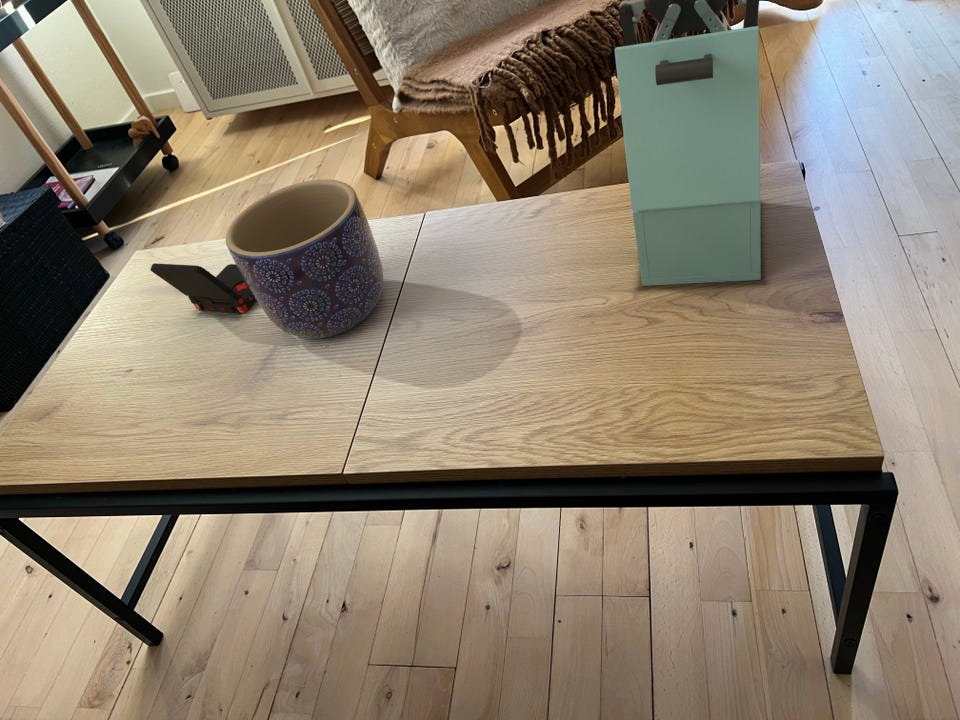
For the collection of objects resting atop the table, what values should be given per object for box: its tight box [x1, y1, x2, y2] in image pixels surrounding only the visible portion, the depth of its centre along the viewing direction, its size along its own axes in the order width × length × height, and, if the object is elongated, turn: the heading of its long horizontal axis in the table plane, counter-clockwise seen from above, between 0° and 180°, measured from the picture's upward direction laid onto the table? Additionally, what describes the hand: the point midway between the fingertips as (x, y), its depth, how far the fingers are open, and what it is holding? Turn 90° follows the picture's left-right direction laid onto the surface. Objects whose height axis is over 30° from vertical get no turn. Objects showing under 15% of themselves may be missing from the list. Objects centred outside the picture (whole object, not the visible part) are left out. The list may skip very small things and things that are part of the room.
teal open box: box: [632, 199, 762, 287], centre depth 91 cm, size 16×13×10 cm
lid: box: [614, 25, 762, 212], centre depth 76 cm, size 17×13×5 cm
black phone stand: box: [149, 262, 257, 315], centre depth 107 cm, size 9×12×10 cm
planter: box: [225, 179, 385, 340], centre depth 97 cm, size 16×16×15 cm
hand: (693, 89), depth 84 cm, fingers closed on can, 6 cm apart
